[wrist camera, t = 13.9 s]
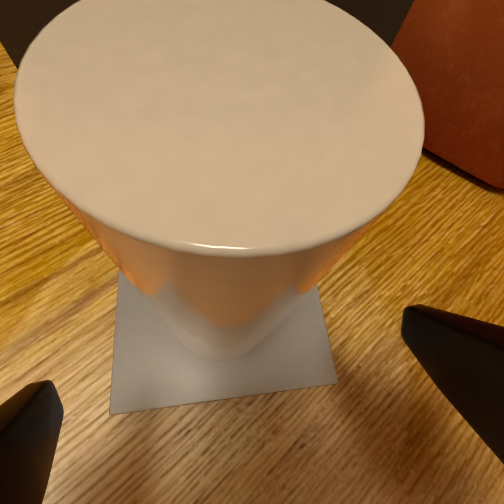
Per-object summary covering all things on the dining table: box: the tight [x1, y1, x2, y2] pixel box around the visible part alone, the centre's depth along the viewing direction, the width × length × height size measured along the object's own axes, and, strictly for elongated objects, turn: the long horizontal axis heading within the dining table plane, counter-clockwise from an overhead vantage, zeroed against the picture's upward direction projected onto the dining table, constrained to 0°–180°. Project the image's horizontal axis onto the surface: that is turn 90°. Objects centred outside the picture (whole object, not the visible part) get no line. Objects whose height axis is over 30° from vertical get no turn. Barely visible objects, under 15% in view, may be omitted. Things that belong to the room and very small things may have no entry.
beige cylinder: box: [13, 0, 425, 361], centre depth 10 cm, size 6×6×13 cm
